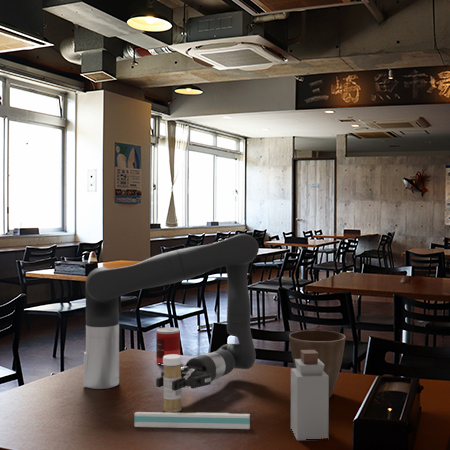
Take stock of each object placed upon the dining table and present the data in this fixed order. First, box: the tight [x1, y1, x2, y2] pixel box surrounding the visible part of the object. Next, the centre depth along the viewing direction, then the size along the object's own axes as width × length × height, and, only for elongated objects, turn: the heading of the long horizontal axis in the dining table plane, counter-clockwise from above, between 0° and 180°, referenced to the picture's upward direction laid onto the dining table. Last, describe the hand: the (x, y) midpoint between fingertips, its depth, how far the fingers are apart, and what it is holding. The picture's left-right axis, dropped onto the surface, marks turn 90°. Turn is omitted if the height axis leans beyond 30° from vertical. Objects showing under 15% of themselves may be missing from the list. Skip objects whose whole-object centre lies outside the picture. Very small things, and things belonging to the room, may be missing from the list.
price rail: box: [133, 411, 251, 430], centre depth 126 cm, size 26×10×3 cm, turn 87°
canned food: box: [155, 326, 181, 364], centre depth 178 cm, size 8×8×11 cm
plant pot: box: [288, 329, 346, 398], centre depth 144 cm, size 15×15×16 cm
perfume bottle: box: [290, 350, 330, 441], centre depth 118 cm, size 7×7×18 cm
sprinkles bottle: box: [162, 354, 183, 413], centre depth 132 cm, size 5×5×14 cm
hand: (165, 384), depth 130 cm, fingers closed on sprinkles bottle, 4 cm apart
